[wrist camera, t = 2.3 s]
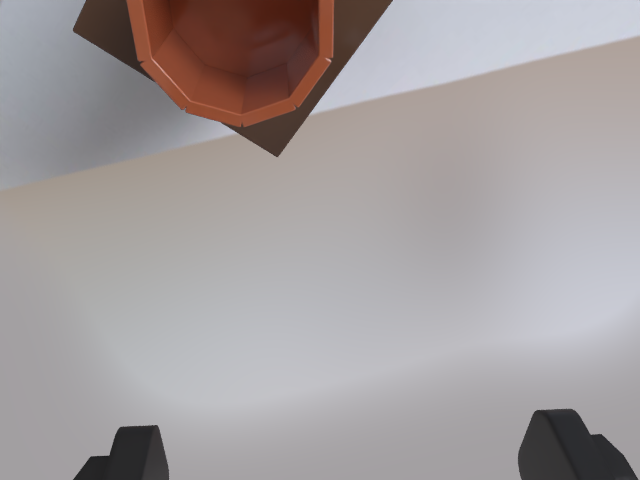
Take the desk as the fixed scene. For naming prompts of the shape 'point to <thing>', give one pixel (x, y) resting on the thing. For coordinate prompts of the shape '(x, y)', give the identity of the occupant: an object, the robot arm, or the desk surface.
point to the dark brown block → (273, 134)
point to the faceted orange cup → (234, 53)
